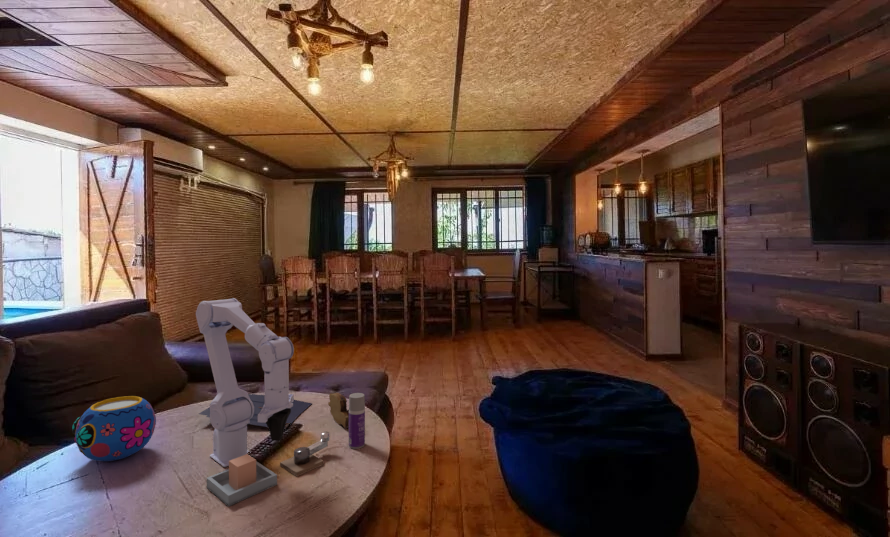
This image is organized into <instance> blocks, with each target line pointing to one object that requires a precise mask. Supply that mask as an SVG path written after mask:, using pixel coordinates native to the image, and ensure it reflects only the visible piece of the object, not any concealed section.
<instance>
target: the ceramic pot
mask: <svg viewBox="0 0 890 537" xmlns="http://www.w3.org/2000/svg"><path fill="white" fill-rule="evenodd" d="M156 424H157V417H156V414H155V410H154V408H153V406H152V404H151V403H150V402H149V401H147V399H145V398H143V397H140V396H136V395H128V396H117V397H112V398H107V399H103V400H101V401H97V402H96V403H94V404H92V405H91V406H90V407H89V408H87V409H86V410H85V411H84V412H83V414H82V415H80V416H79V417H77V418H76V419H75V420H74V422H73V424H72V429H71V430H72V433H73V435H74V436H75V437H74V443H75V444H76V445H77V448H78V450H79V452H80V453H81V454H82V455H83V456H84V457H86V458H87V459H88V460H92V461H97V462H98V461H99V462H113V461H118V460H122V459H125V458H127V457H131V456H132V455H135V454H136V453H137V452H139V451H140V450H142V449H143V448H145V447H146V446H147V444H148V443H149V442H150V440H151V438H152V436H153V435H154V433H155V429H156Z"/></svg>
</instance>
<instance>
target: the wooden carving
mask: <svg viewBox="0 0 890 537" xmlns="http://www.w3.org/2000/svg"><path fill="white" fill-rule="evenodd" d="M328 396H329V398H328V399H329V401H328V406H329V407H330V410H329V411H330V414H331V416H332V418H333V420H334V421H335V422H336V425H339V426H341V425H342V427H343V428H344V429H346V428H349V409H348V408H347V406H348V405H347V402H348V401H347V398H346V396H344V395H343V394H341V393H340V392H333V393H332V392H331V393H329V394H328Z"/></svg>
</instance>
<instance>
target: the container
mask: <svg viewBox="0 0 890 537" xmlns="http://www.w3.org/2000/svg"><path fill="white" fill-rule="evenodd" d="M365 402H366V398H365V393H362V392H354V393H351V394H349V396H348V410H349V427H348V447H349V448H350V449H353V450H355V449H356V450H357V449H362V448H364V447H365V443H366V442H365V441H366V440H365V439H366V432H365V431H366V430H365V429H366V404H365Z"/></svg>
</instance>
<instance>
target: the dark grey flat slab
mask: <svg viewBox="0 0 890 537" xmlns="http://www.w3.org/2000/svg"><path fill="white" fill-rule="evenodd" d="M248 395H249V398H250V400H251V401H252V403H253V405H254V414H253V417H252V418H251V419H250V423H248V424H247V425H253V426H259V427H264V428H268V426H267V424H266V423H262V422H258V414H259V413H260V412H261V410H262V408H263V406H264V404H265V394H256V393H255V394H254V393H248ZM233 401H236V400H230V401H227V402H225V403H224V404H227V403H230V402H233ZM292 403H293V406H292V407H291V408H290V409H291V413H290V414H289V416H288V419H287V421H286V423H291V424H292V423H293V422H294V421H295V420H296V419H297V418H298V416H300V415H301V414H303V412H304V411H306V409H307V408H309V407H310V406H311V405H312V404H313V403H312V402H308V401H303V400H298V399H294V401H293V402H292ZM224 404H223V405H224ZM198 415H203V416H205V418H209V419H210V406H208V407H207V408H206V409H204V410H202V411H200V412H199V413H198Z"/></svg>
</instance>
